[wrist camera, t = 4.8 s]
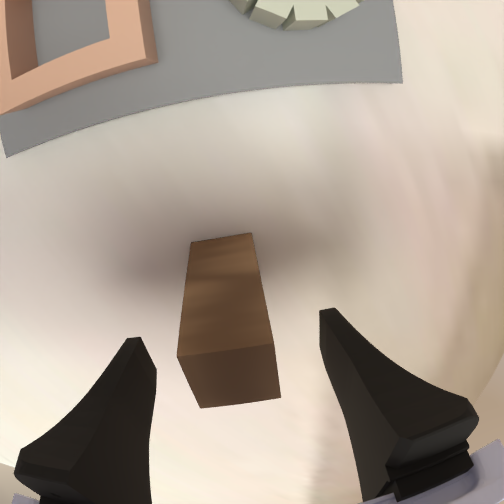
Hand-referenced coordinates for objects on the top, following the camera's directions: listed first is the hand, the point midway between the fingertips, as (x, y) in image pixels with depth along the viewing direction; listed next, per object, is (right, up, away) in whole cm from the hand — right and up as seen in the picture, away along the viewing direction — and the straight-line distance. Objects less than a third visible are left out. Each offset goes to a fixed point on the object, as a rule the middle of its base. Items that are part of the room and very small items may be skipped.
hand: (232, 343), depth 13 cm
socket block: (-3, +15, -2) cm, 16 cm away
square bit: (-1, +3, +5) cm, 6 cm away
